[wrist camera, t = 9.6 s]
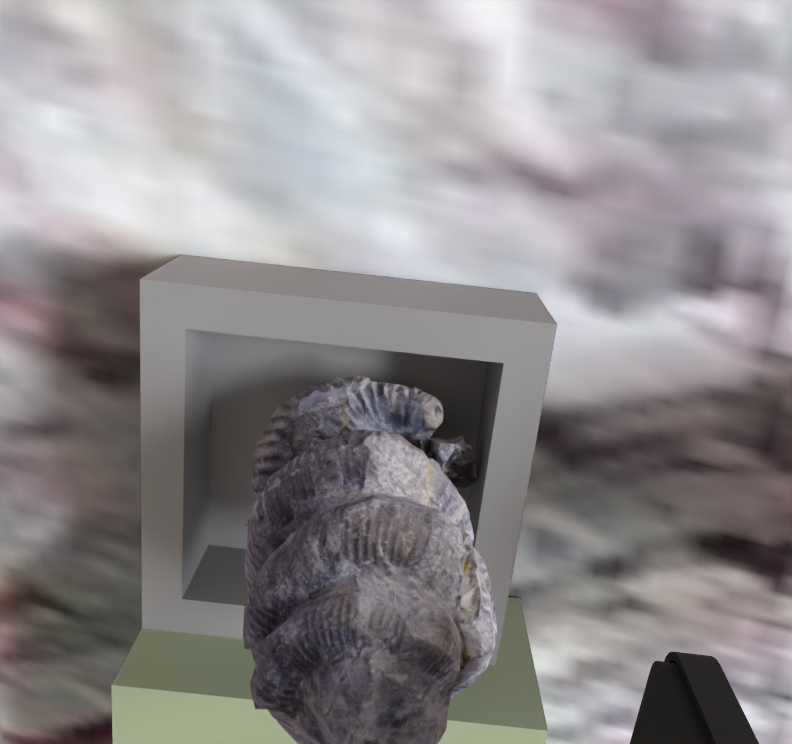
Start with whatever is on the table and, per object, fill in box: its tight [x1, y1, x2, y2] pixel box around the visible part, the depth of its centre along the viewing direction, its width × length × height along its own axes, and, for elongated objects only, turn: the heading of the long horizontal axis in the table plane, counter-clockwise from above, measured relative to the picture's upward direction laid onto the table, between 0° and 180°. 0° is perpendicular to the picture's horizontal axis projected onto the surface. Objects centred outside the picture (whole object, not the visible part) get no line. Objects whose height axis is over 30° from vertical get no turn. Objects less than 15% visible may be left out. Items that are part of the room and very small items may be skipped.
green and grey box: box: [111, 255, 557, 744], centre depth 19 cm, size 16×10×6 cm, turn 174°
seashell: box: [243, 375, 497, 744], centre depth 15 cm, size 5×5×10 cm
